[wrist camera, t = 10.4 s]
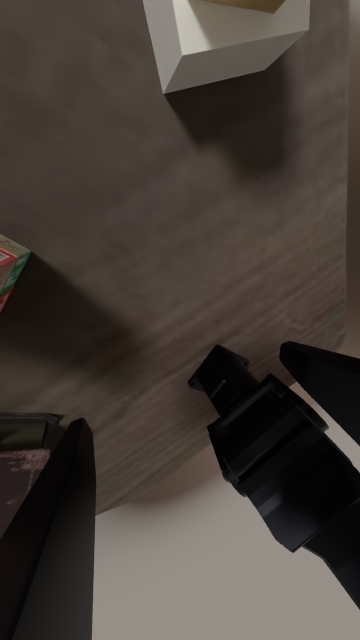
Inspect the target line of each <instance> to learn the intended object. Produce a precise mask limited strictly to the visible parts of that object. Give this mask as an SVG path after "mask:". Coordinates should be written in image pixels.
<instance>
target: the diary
mask: <svg viewBox="0 0 360 640" xmlns="http://www.w3.org/2000/svg"><path fill="white" fill-rule="evenodd" d="M57 420H58V417H57V416H54V415H51V414H43V413H0V539H1V537H2V536H3V534H4V532H5V531H6V529H7V527H8V526H9V524H10V522H11V521H12V519H13V517H14V516H15V514H16V512H17V511H18V509H19V507H20V506H21V504H22V502H23V501H24V499H25V497H26V496H27V494H28V492H29V491H30V489H31V487H32V486H33V484H34V482H35V481H36V479H37V477H38V476H39V474H40V473H41V471H42V469H43V468H44V466H45V464H46V463H47V461H48V459H49V456H50V452H51V447H50V445H51V442H52V438H53V435H54V431H55V427H56V423H57Z"/></svg>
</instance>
